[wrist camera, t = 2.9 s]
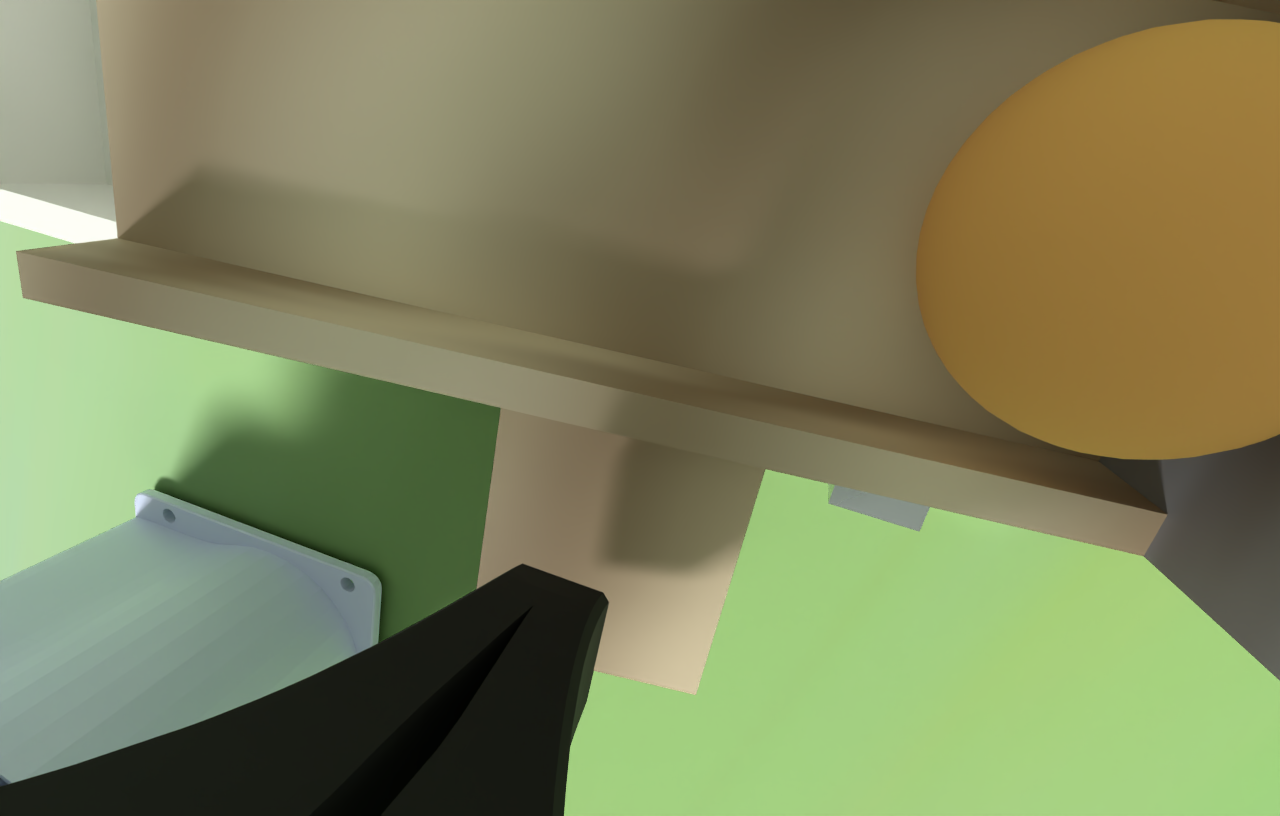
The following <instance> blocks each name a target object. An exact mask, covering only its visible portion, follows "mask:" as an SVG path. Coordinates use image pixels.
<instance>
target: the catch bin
mask: <svg viewBox="0 0 1280 816" xmlns="http://www.w3.org/2000/svg"><path fill="white" fill-rule="evenodd" d="M0 221H2V222H5V223H9V224H12V225H16V226H19V227H22V228H26V229H29V230H32V231H36V232H39V233H42V234H46V235H49V236H52V237H56V238H59V239H62V240H66V241H69V242H72V243H84V242H92V241H100V240H108V239H115V238H118V237H117V226H116V215H115V204H114V193H113V182H112V171H111V159H110V148H109V137H108V126H107V115H106V104H105V93H104V82H103V71H102V60H101V49H100V38H99V27H98V16H97V5H96V0H0Z"/></svg>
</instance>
